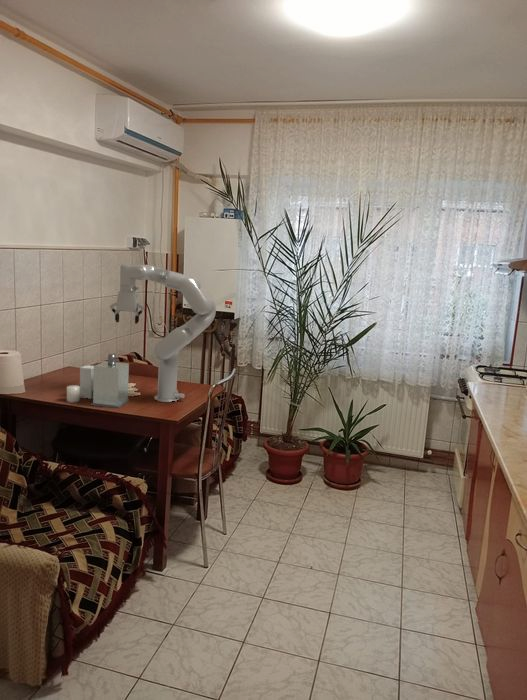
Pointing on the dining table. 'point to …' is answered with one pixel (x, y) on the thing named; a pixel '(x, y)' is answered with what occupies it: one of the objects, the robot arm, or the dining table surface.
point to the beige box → (110, 382)
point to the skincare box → (86, 381)
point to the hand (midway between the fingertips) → (126, 322)
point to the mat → (110, 405)
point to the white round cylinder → (73, 393)
